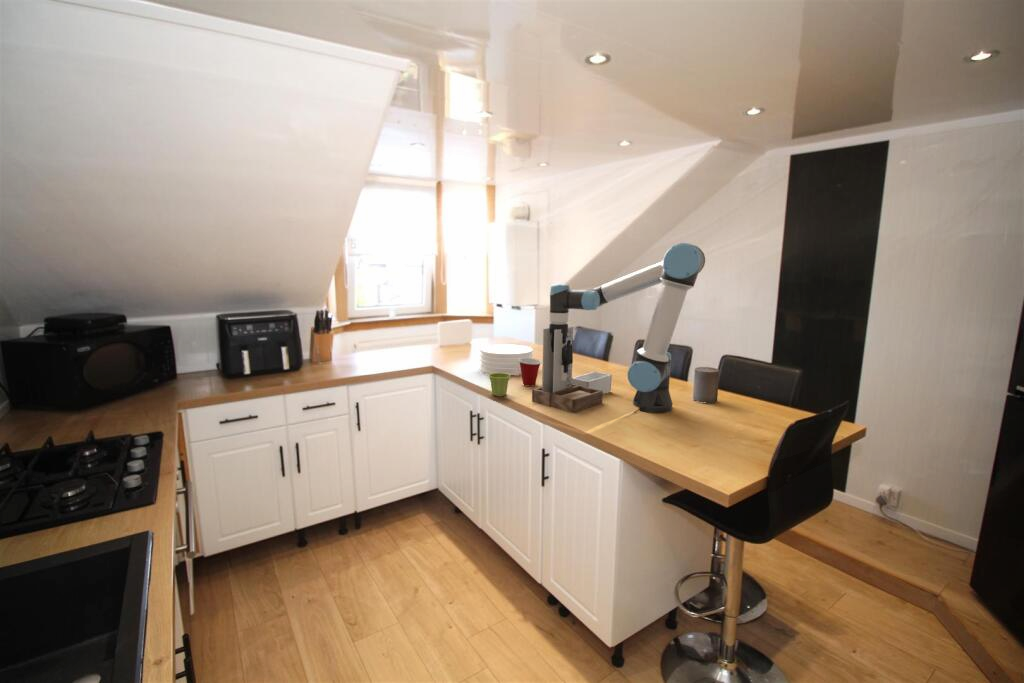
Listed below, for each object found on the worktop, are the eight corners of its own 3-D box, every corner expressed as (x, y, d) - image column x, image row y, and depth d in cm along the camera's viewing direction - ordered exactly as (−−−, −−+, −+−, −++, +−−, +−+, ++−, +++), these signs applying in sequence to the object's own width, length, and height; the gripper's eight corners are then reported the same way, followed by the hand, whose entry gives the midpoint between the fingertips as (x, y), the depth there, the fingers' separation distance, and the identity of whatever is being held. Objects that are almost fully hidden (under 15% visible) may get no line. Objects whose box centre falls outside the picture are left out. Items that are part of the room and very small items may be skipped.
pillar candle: (720, 400, 195) (722, 365, 192) (713, 405, 187) (716, 369, 185) (696, 396, 201) (698, 362, 198) (689, 401, 193) (691, 366, 191)
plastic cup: (537, 388, 209) (538, 363, 207) (515, 386, 212) (515, 361, 210) (543, 383, 219) (544, 358, 217) (522, 381, 222) (522, 356, 220)
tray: (602, 405, 185) (602, 390, 184) (573, 415, 172) (574, 400, 171) (560, 394, 200) (561, 381, 199) (532, 403, 186) (532, 389, 185)
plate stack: (469, 369, 245) (469, 348, 243) (504, 362, 266) (504, 342, 264) (508, 378, 227) (509, 356, 225) (542, 369, 248) (543, 348, 246)
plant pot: (487, 391, 203) (488, 372, 201) (509, 391, 204) (509, 372, 202) (489, 397, 193) (489, 377, 192) (511, 397, 194) (511, 377, 193)
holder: (610, 392, 205) (611, 374, 204) (587, 400, 192) (588, 381, 191) (594, 388, 211) (595, 371, 210) (570, 396, 198) (571, 378, 197)
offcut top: (595, 398, 184) (595, 394, 184) (573, 405, 175) (573, 400, 175) (579, 394, 190) (579, 390, 190) (557, 400, 181) (557, 396, 180)
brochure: (553, 405, 182) (555, 330, 177) (541, 402, 185) (543, 329, 181) (571, 397, 193) (573, 326, 188) (560, 395, 197) (562, 325, 192)
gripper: (583, 324, 180) (581, 381, 184) (546, 320, 193) (545, 373, 197) (572, 326, 175) (570, 384, 179) (535, 321, 188) (534, 376, 192)
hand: (557, 378), depth 188 cm, fingers closed on brochure, 6 cm apart
